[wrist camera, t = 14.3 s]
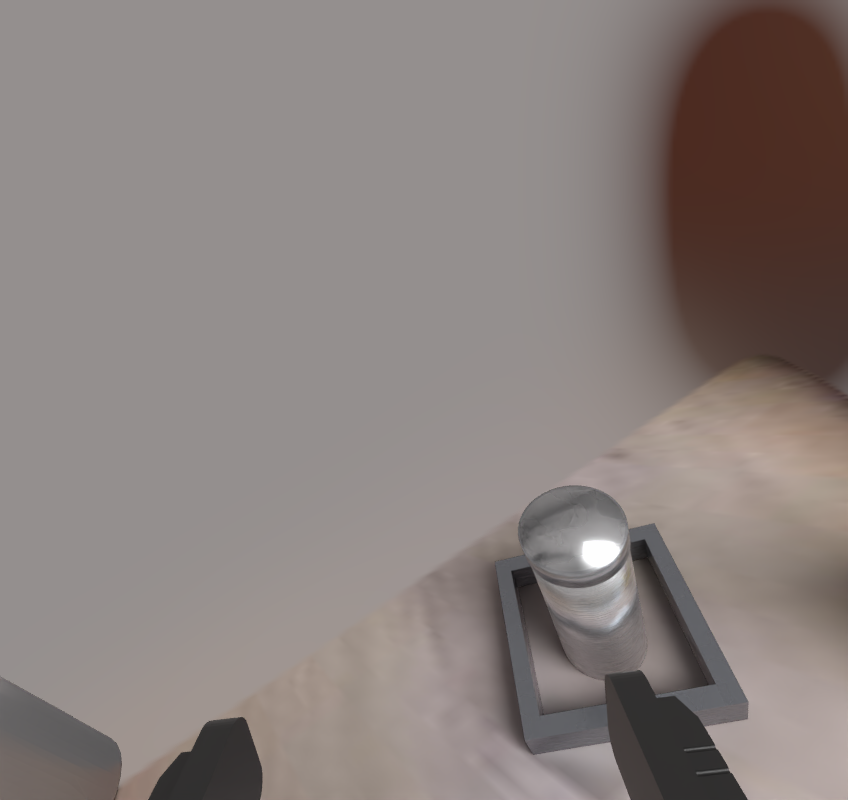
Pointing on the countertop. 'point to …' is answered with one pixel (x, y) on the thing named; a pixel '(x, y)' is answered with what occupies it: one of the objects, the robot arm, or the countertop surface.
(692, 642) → the collar
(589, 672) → the lidded metal canister
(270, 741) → the countertop surface
